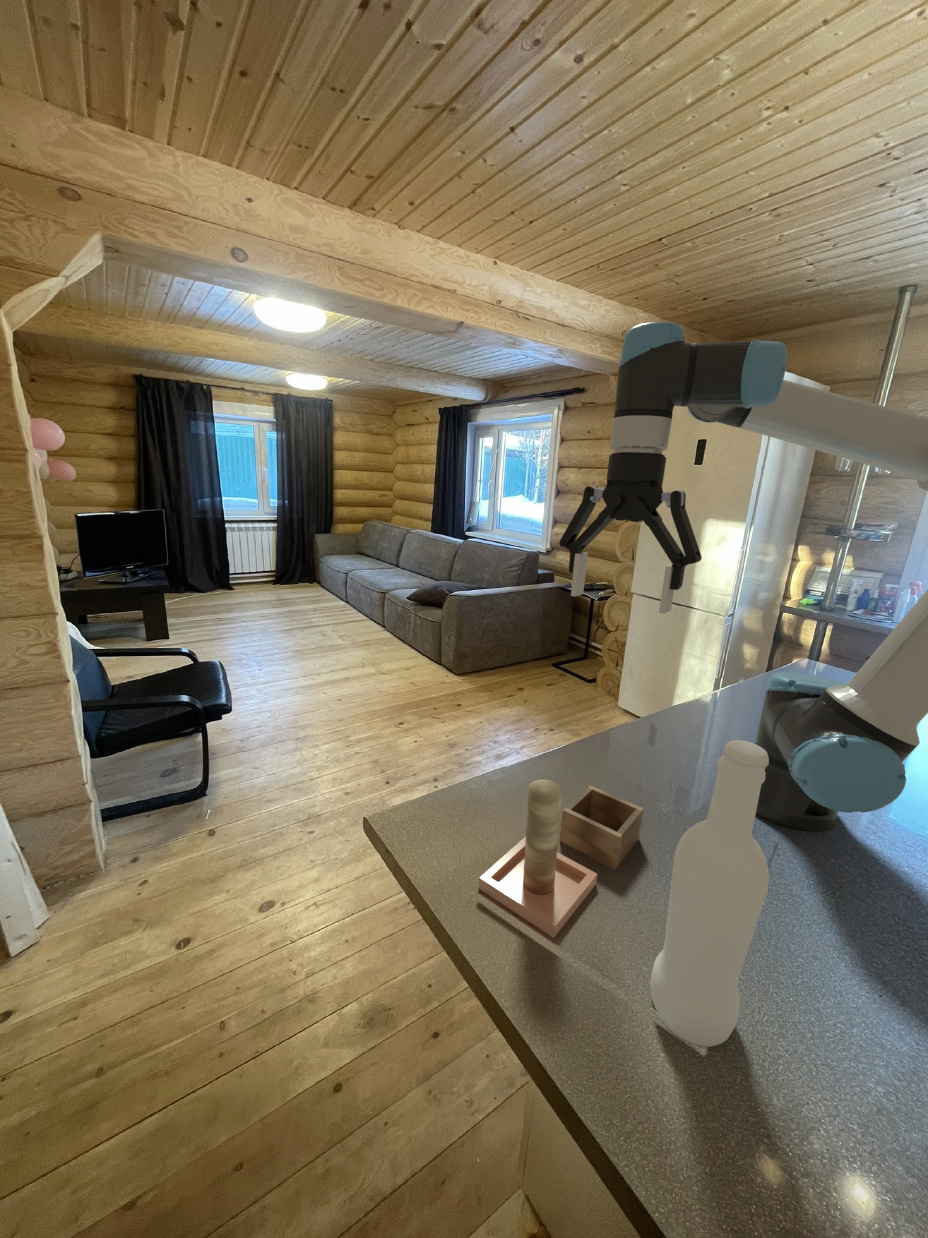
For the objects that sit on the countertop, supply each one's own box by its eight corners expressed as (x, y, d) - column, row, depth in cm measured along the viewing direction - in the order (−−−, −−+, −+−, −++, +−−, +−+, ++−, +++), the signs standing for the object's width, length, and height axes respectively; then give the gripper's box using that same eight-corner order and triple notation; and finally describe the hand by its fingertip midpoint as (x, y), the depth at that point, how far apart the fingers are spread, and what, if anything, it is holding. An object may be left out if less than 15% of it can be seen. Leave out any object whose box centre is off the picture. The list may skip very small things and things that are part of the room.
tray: (595, 889, 68) (597, 874, 67) (553, 943, 59) (555, 926, 59) (525, 849, 74) (526, 835, 74) (478, 893, 66) (479, 877, 65)
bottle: (635, 975, 56) (678, 724, 48) (706, 972, 57) (759, 725, 49) (670, 1055, 48) (728, 772, 40) (751, 1050, 49) (824, 771, 41)
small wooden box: (638, 843, 77) (643, 808, 75) (614, 874, 70) (619, 837, 69) (585, 818, 82) (589, 785, 80) (559, 845, 75) (563, 810, 74)
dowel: (560, 881, 67) (567, 788, 63) (544, 900, 64) (551, 803, 60) (533, 866, 69) (539, 775, 65) (517, 884, 66) (522, 789, 62)
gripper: (744, 454, 66) (715, 615, 71) (569, 453, 81) (557, 585, 86) (729, 450, 60) (699, 624, 66) (545, 450, 75) (533, 591, 81)
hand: (618, 603), depth 76 cm, fingers open, 13 cm apart
